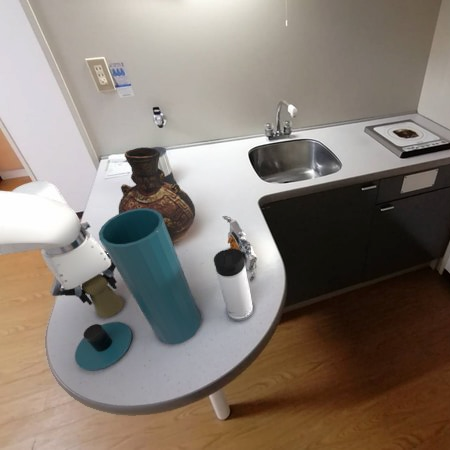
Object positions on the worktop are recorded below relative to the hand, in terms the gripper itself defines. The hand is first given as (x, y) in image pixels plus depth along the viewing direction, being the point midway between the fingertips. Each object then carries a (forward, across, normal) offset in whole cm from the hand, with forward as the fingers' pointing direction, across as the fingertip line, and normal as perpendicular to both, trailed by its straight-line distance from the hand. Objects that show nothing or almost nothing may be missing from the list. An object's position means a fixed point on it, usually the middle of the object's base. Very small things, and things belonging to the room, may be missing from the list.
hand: (100, 293), depth 74 cm
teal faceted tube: (+6, -8, +18) cm, 20 cm away
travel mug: (+6, -20, +27) cm, 34 cm away
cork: (+6, 0, 0) cm, 6 cm away
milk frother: (+6, -39, -36) cm, 54 cm away
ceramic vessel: (+6, -24, -12) cm, 28 cm away
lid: (+5, +6, +10) cm, 13 cm away
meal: (+6, -31, +15) cm, 35 cm away
